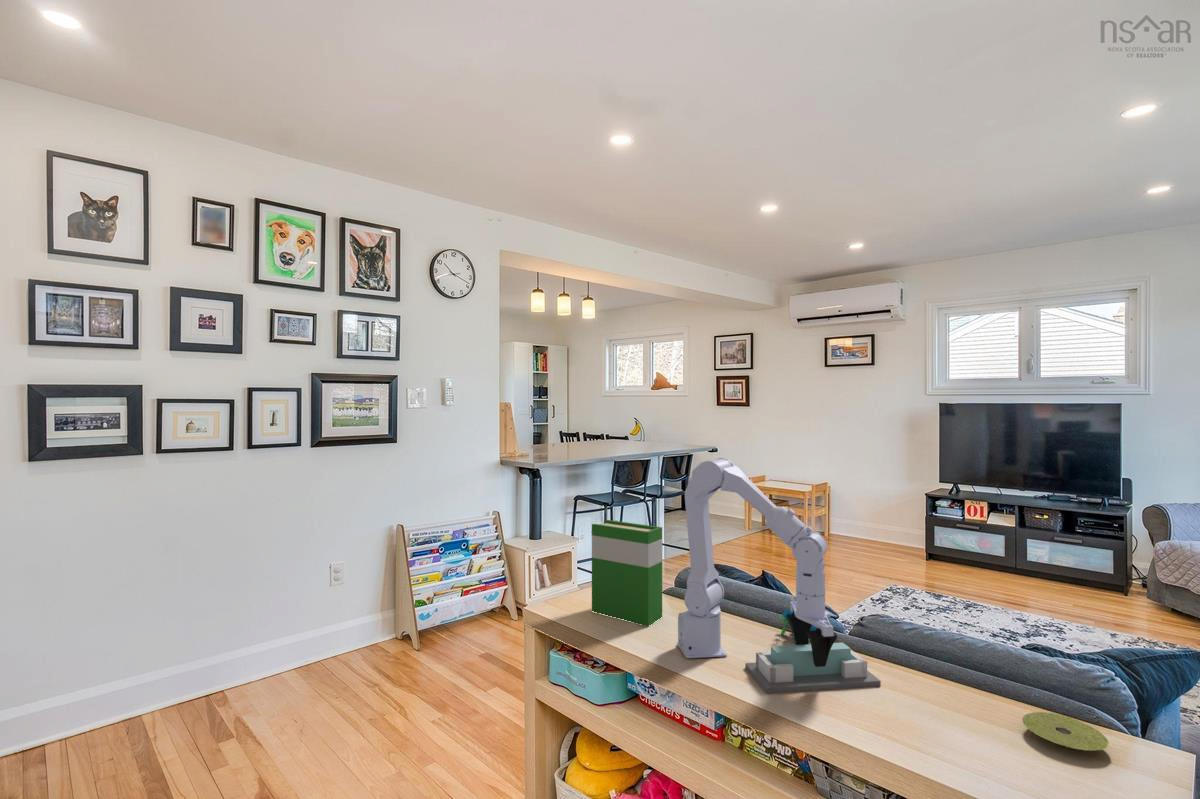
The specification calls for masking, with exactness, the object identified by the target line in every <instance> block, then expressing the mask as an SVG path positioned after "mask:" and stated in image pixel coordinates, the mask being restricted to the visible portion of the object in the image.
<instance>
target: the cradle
mask: <svg viewBox="0 0 1200 799" xmlns="http://www.w3.org/2000/svg"><path fill="white" fill-rule="evenodd" d="M744 668H745V670H746V671H747V672H748V673H749V674H750V676H752V677H753V679H754V680H755V681H756V682H757V683H758V685H759V686H760V687H761V689H762V690H763V691H764V692H765V693H766V694H778V693H791V692H792V693H794V692H806V691H807V692H809V691H823V690H822V689H826V690H837V689H836V688H840V689H854V688H855V689H856V688H867V687H880V686H881V684H882V682H881V680H880V679H879V678H877V676H876V675H874V673H871V672H870V671H869V670H868V661H867V660H866V659H864V658H863V657H861V656H860V655H859V654H857V653H856V652H855V651H854V650H852V649H851V660H843V661H842V673H839V674H823V675H807V676H793V666H792V665H791V664H777V665H773V664H772V663H771V651H764V652H756V653H755V662H746V663H745V667H744Z"/></svg>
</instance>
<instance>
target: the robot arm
mask: <svg viewBox="0 0 1200 799" xmlns="http://www.w3.org/2000/svg"><path fill="white" fill-rule="evenodd" d="M718 490H720V491H723V492H730V493H735V494H737V495H739V496H740V497H741V499H743V500H745V502H747V503H748V504H749V505H751V506H752V507H753V508H754V509H755V510H756V511H758V513H760V514H761V515H762V516H763V517H764V519H765V525H766V527H767V528H768V529H769V530H770V531H771V532H772V533H774V535H775V536H777V537H778V538H779V539H780V540H781V541H782V542H783V543H784V544H785V545H786V546H787V547H789V548H791V551H792V555H793V557H794V560H796V568H795V601H790V603H789V604H790V608H789V611H792V612H793V613H792V614H788V615H786V618H787V620H788V622H789V624H790V626H791V629H790V630H791V632H792V635H793V639H794V640H795V642H794V644H795V645H808V644H811V647H812V654H813V662H814V665H815V666H816V667H825V666H826V663H827V659H828V655H829V652H830V649H831V647H832V645H833V643H836V641H837V639H838V634H837V632H835V631H834V625H832V624H831V622H830V620H829V618H831V613H830V612H829V611H827V610H826V571H825V567H826V566H825V564H826V563H825V558H824V556H825V555H826V554H827V551H828V542H827V541H826V539H825V538H824V536H823V535H822V534H821V533H820V532H818V531H816V530H813V528H812V526H810V525H809V526H807V525H806V524H805V523H803V521H801V520H800V519H799V518H798V517H797V516H796V515H795V514H796V511H795V510H793V508H789V509H788V508H787V507H786V506H777V505H775V503H773V501H771V499H769V498H768V496H767V495H766V494H765V493H764V492H762V491H761V489H760V488H758V486H757V485H756V484H755V483H754V482H753V481H752V480H751V479H750V478H748V476H747V475H745V473H744V472H743V471H742V470H741V468H739V467H738V466H736V465H734V464H733V462H731V460H730V459H727V458H724V457H718V458H716V459H712V460H706V461H705V460H704V461H701V462H700V463H699V464H698V465H697V466H696V467H694V469H692V471H691V477H690V480H689V481H688V484H687V486H686V488H685V491H684V503H685V505H684V506H685V513H686V514H685V515H686V526H687V536H688V548H689V550H688V551H689V561H690V562H689V563H690V572H689V575H688V577H687V580H686V592H685V594H684V598H683V599H684V601H683V602H684V605H685V606H686V608H687V610H686V611H681V612H679V613H678V618H677V638H678V639H677V644H676V645H677V646H678V647H679V649H680V651H681V653H683V656H684V657H685V658H686V659H701V658H715V657H716V658H718V657H719V658H720V657H721V658H722V657H727V656H728V654H727V652H726V651H725V649H724V648H723V647H722V645H721V643H722V642H721V638H722V637H721V634H722V633H721V630H722V629H721V628H722V627H721V626H722V624H721V621H722V619H721V617H722V616H721V613H722V611H721V607H720V603H721V602H723V600H724V598H725V589H724V586H723V584H722V583H721V580H720V573H719V572H718V570H717V569H716V567H715V563H714V562H715V559H714V550H713V540H712V526H711V518H710V504H709V500H710V499H711V498H712V497H713V496H714V495H715V493H716V492H717V491H718ZM811 625H813V626H814V627H816V631H810V629H811Z"/></svg>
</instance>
